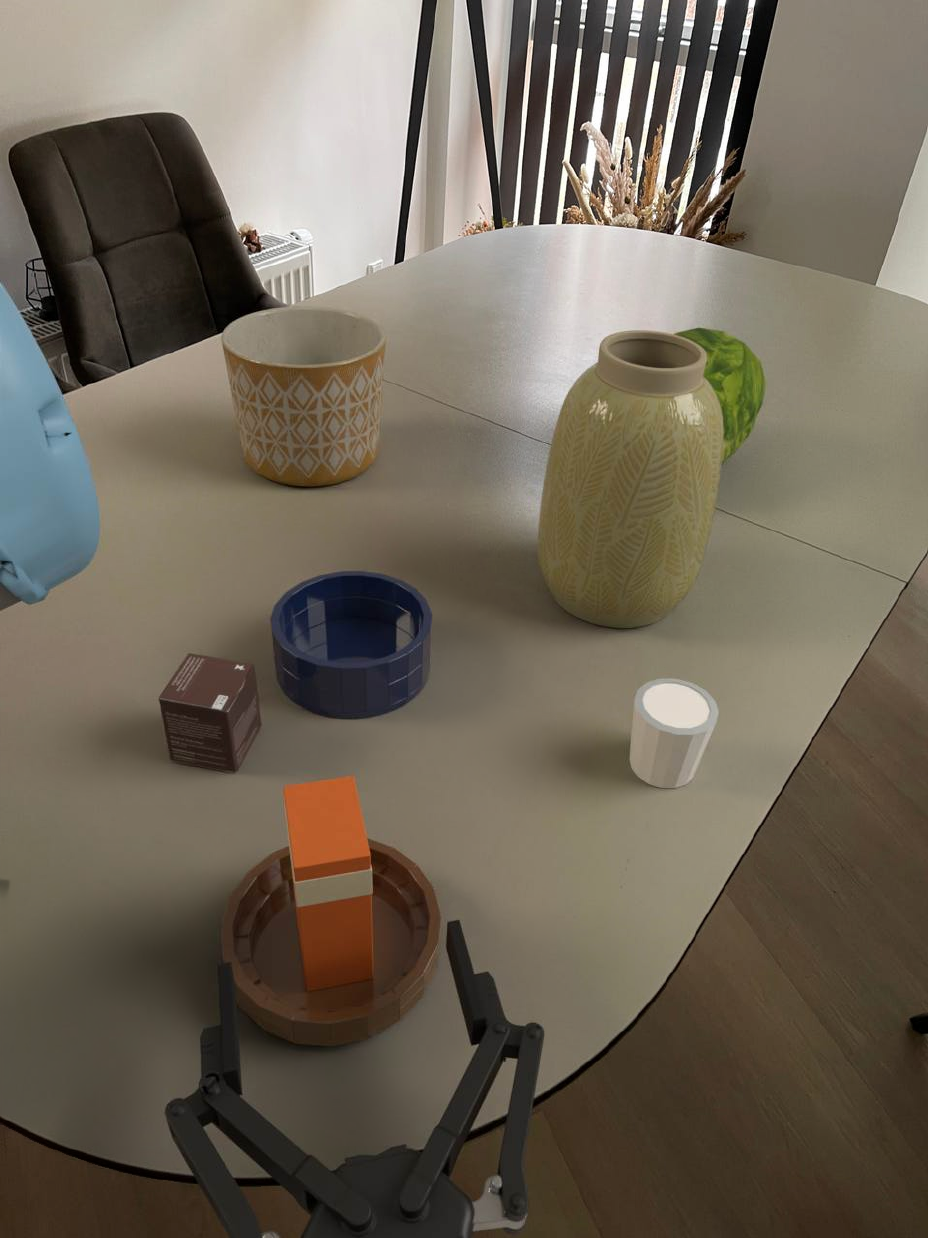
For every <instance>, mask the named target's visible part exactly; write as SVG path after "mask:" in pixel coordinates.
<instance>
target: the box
mask: <svg viewBox="0 0 928 1238" xmlns="http://www.w3.org/2000/svg"><path fill="white" fill-rule="evenodd" d="M255 665H256V664H254V663H252V662H251V663H250V662H245V661H240V660H233V659H226V658H221V657H215V656H209V655H204V654H197V653H191V652H189V653H188V654H187V655H186V656H185V658H184V659H183V661H182V662H181V663H180V665H179V666H178V668H177V670H176V671H175V673H174V674H173V675H172V677H171V678H170V680H169V681H168V683H167V684H166V686H165V687H164V689H163V690H162V691H161V693H160V694H159V696H158V699H157V700H158V703H159V707H160V713H161V719H162V724H163V730H164V735H165V740H166V745H167V750H168V756H169V761H171V762H173V763H176V764H183V765H188V766H195V767H201V768H207V769H211V770H215V771H216V770H217V771H222V772H225V773H231V774H234V773H235V774H236V773H238V771H239V769H240V767H241V765H242V764H243V762H244V759H245V758H246V756H247V754H248V752H249V751H250V749H251V747H252V745H253V743H254V741H255V739H256V737H257V735H258V733H259V731H260V729H261V727H262V725H263V724H262V717H261V708H260V707H261V706H260V699H259V691H258V683H257V682H258V681H257V674H256V666H255Z"/></svg>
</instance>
